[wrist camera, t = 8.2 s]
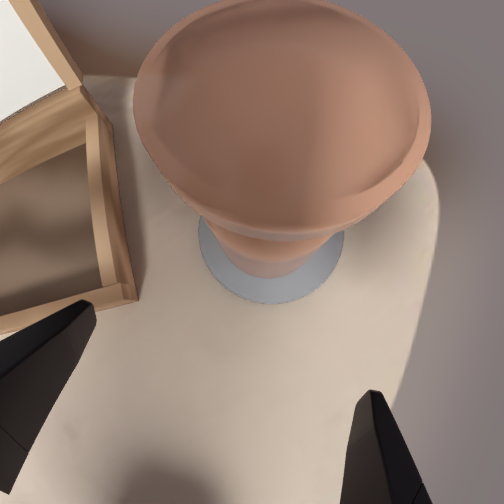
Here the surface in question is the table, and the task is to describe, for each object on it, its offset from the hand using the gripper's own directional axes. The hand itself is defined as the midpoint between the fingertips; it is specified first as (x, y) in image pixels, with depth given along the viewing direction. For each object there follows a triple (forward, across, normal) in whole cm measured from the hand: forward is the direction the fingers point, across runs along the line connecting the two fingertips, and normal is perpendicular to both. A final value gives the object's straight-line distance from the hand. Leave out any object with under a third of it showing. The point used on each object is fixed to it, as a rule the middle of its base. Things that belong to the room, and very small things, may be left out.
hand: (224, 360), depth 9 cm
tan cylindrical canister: (+12, 0, +2) cm, 12 cm away
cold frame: (+8, +18, +7) cm, 21 cm away
